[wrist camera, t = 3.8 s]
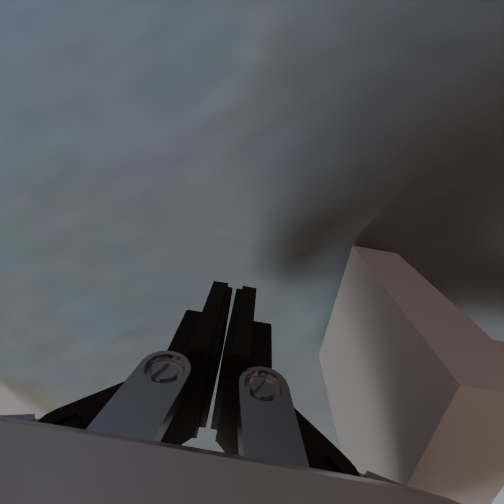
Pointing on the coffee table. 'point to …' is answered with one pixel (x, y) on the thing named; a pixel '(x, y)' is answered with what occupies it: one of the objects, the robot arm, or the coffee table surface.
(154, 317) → the coffee table surface
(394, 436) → the slider
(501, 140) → the coffee table surface
